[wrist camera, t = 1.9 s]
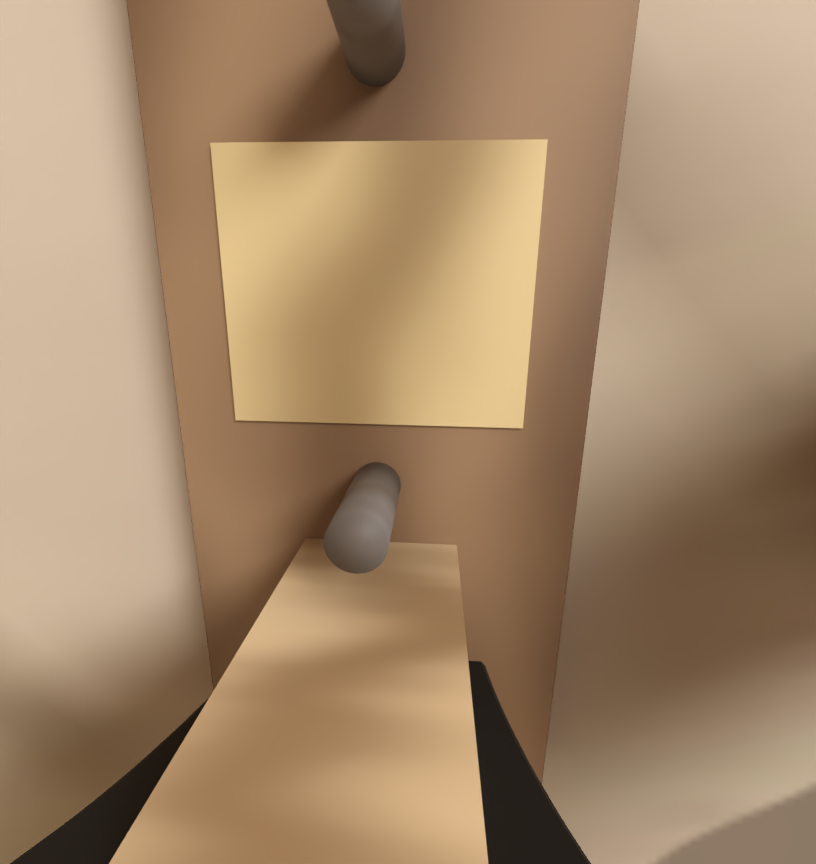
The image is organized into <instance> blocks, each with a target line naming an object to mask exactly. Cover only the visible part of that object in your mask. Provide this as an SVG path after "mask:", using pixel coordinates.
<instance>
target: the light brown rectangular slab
mask: <svg viewBox="0 0 816 864" xmlns="http://www.w3.org/2000/svg"><path fill="white" fill-rule="evenodd" d="M109 864H488V855H487V845H486V834H485V824H484V814H483V804H482V794H481V784H480V774H479V764H478V754H477V744H476V734H475V724H474V714H473V703H472V693H471V683H470V673H469V663H468V653H467V643H466V633H465V623H464V613H463V603H462V593H461V583H460V572H459V562H458V552H457V545H445V544H423V543H400V542H389V546H388V551H387V555H386V557H385V559H384V561H383V562H382V564H381V565H380V566H378V567H377V568H376V569H374V570H372V571H370V572H367V573H361V574H355V573H349V572H346V571H343V570H341V569H339V568H338V567H336V566H335V565H334V564H333V563H332V562H331V561H330V560H329V558H328V557H327V555H326V553H325V550H324V539H310V538H306V539H305V541H304V542H303V544H302V546H301V547H300V549H299V550H298V552H297V554H296V555H295V557H294V559H293V560H292V562H291V564H290V565H289V567H288V569H287V570H286V572H285V574H284V575H283V577H282V579H281V580H280V582H279V584H278V585H277V587H276V588H275V590H274V592H273V593H272V595H271V597H270V598H269V600H268V602H267V603H266V605H265V607H264V608H263V610H262V612H261V613H260V615H259V617H258V618H257V620H256V622H255V623H254V625H253V626H252V628H251V630H250V631H249V633H248V635H247V636H246V638H245V640H244V641H243V643H242V645H241V646H240V648H239V650H238V651H237V653H236V655H235V656H234V658H233V660H232V661H231V663H230V664H229V666H228V668H227V669H226V671H225V673H224V674H223V676H222V678H221V679H220V681H219V683H218V684H217V686H216V688H215V689H214V691H213V693H212V694H211V696H210V698H209V699H208V701H207V702H206V704H205V706H204V707H203V709H202V711H201V712H200V714H199V716H198V717H197V719H196V721H195V722H194V724H193V726H192V727H191V729H190V731H189V732H188V734H187V736H186V737H185V739H184V740H183V742H182V744H181V745H180V747H179V749H178V750H177V752H176V754H175V755H174V757H173V759H172V760H171V762H170V764H169V765H168V767H167V769H166V770H165V772H164V774H163V775H162V777H161V778H160V780H159V782H158V783H157V785H156V787H155V788H154V790H153V792H152V793H151V795H150V797H149V798H148V800H147V802H146V803H145V805H144V807H143V808H142V810H141V812H140V813H139V815H138V816H137V818H136V820H135V821H134V823H133V825H132V826H131V828H130V830H129V831H128V833H127V835H126V836H125V838H124V840H123V841H122V843H121V845H120V846H119V848H118V850H117V851H116V853H115V854H114V856H113V858H112V859H111V861H110V863H109Z"/></svg>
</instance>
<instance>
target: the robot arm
mask: <svg viewBox="0 0 816 864" xmlns="http://www.w3.org/2000/svg"><path fill="white" fill-rule="evenodd" d="M468 663H469V673H470V683H471V693H472V703H473V714H474V724H475V734H476V744H477V754H478V764H479V774H480V784H481V794H482V804H483V814H484V824H485V834H486V845H487V855H488V864H591V863H590V862H589V860H588V859H587V857H586V856H585V854H584V853H583V851H582V849H581V848H580V846H579V845H578V843H577V842H576V840H575V839H574V837H573V836H572V834H571V833H570V831H569V829H568V828H567V826H566V825H565V823H564V821H563V820H562V818H561V816H560V815H559V813H558V812H557V810H556V808H555V807H554V805H553V803H552V802H551V800H550V798H549V796H548V795H547V793H546V791H545V789H544V788H543V786H542V784H541V783H540V781H539V779H538V777H537V776H536V774H535V772H534V770H533V768H532V766H531V765H530V763H529V761H528V759H527V757H526V755H525V753H524V751H523V749H522V747H521V746H520V744H519V742H518V740H517V738H516V736H515V734H514V732H513V730H512V728H511V726H510V724H509V722H508V720H507V718H506V715H505V713H504V711H503V709H502V707H501V704H500V702H499V700H498V698H497V695H496V693H495V690H494V688H493V685H492V683H491V680H490V678H489V675H488V672H487V669H486V666H485V665H484V664H483V663H482V662H481V661H468ZM209 698H210V697H209ZM209 698H208V699H209ZM208 699H207V700H206V701H205V702H204V703H203V704H202V705H201V706H200V707H199V708H198V709H197V710H196V711H195V712H194V713H193V714H192V715H191V716H190V717H189V718H188V719H187V720H186V721H185V722H184V723H182V724H181V725H180V726H179V727H178V728H177V729H176V730H175V731H174V732H173V733H172V734H171V735H170V736H168V737H167V738H166V739H165V740H164V741H163V742H162V743H161V744H160V745H159V746H157V747H156V748H155V749H154V750H153V751H152V752H151V753H150V754H149V755H147V756H146V757H145V758H144V759H143V760H142V761H141V762H140V763H139V764H137V765H136V766H135V767H134V768H133V769H132V770H130V771H129V772H128V773H127V774H126V775H125V776H123V777H122V778H121V779H120V780H119V781H118V782H116V783H115V784H114V785H113V786H112V787H110V788H109V789H108V790H107V791H106V792H104V793H103V794H102V795H101V796H99V797H98V798H97V799H96V800H94V801H93V802H92V803H91V804H89V805H88V806H87V807H86V808H84V809H83V810H82V811H81V812H79V813H78V814H77V815H76V816H74V817H73V818H72V819H70V820H69V821H68V822H66V823H65V824H64V825H62V826H61V827H60V828H58V829H57V830H56V831H54V832H53V833H52V834H50V835H49V836H47V837H46V838H45V839H43V840H42V841H41V842H39V843H38V844H36V845H35V846H34V847H32V848H31V849H30V850H28V851H27V852H26V853H24V854H23V855H21V856H20V857H19V858H17V859H16V860H15V861H13V862H12V863H11V864H109V863H110V861H111V859H112V858H113V856H114V854H115V853H116V851H117V850H118V848H119V846H120V845H121V843H122V841H123V840H124V838H125V836H126V835H127V833H128V831H129V830H130V828H131V826H132V825H133V823H134V821H135V820H136V818H137V816H138V815H139V813H140V812H141V810H142V808H143V807H144V805H145V803H146V802H147V800H148V798H149V797H150V795H151V793H152V792H153V790H154V788H155V787H156V785H157V783H158V782H159V780H160V778H161V777H162V775H163V774H164V772H165V770H166V769H167V767H168V765H169V764H170V762H171V760H172V759H173V757H174V755H175V754H176V752H177V750H178V749H179V747H180V745H181V744H182V742H183V740H184V739H185V737H186V736H187V734H188V732H189V731H190V729H191V727H192V726H193V724H194V722H195V721H196V719H197V717H198V716H199V714H200V712H201V711H202V709H203V707H204V706H205V704H206V702H207V701H208Z"/></svg>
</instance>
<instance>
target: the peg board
mask: <svg viewBox="0 0 816 864" xmlns="http://www.w3.org/2000/svg"><path fill="white" fill-rule="evenodd" d="M639 2H640V0H127V8H128V16H129V23H130V31H131V39H132V47H133V55H134V63H135V71H136V79H137V87H138V95H139V103H140V111H141V119H142V127H143V135H144V143H145V150H146V158H147V166H148V174H149V182H150V190H151V198H152V206H153V214H154V222H155V230H156V238H157V246H158V254H159V262H160V270H161V277H162V285H163V293H164V301H165V309H166V317H167V325H168V333H169V341H170V349H171V357H172V365H173V373H174V381H175V389H176V397H177V404H178V412H179V420H180V428H181V436H182V444H183V452H184V460H185V468H186V476H187V484H188V492H189V500H190V508H191V516H192V524H193V531H194V539H195V547H196V555H197V563H198V571H199V579H200V587H201V595H202V603H203V611H204V619H205V627H206V635H207V643H208V651H209V658H210V666H211V674H212V682H213V690H214V689H215V688H216V686H217V684H218V683H219V681H220V679H221V678H222V676H223V674H224V673H225V671H226V669H227V668H228V666H229V664H230V663H231V661H232V660H233V658H234V656H235V655H236V653H237V651H238V650H239V648H240V646H241V645H242V643H243V641H244V640H245V638H246V636H247V635H248V633H249V631H250V630H251V628H252V626H253V625H254V623H255V622H256V620H257V618H258V617H259V615H260V613H261V612H262V610H263V608H264V607H265V605H266V603H267V602H268V600H269V598H270V597H271V595H272V593H273V592H274V590H275V588H276V587H277V585H278V584H279V582H280V580H281V579H282V577H283V575H284V574H285V572H286V570H287V569H288V567H289V565H290V564H291V562H292V560H293V559H294V557H295V555H296V554H297V552H298V550H299V549H300V547H301V546H302V544H303V542H304V541H305V539H306V538H310V539H324V550H325V553H326V555H327V557H328V558H329V560H330V561H331V562H332V563H333V564H334V565H335V566H336V567H338V568H339V569H341V570H343V571H346V572H349V573H355V574H361V573H367V572H370V571H372V570H374V569H376V568H377V567H378V566H380V565H381V564H382V562H383V561H384V559H385V557H386V555H387V551H388V546H389V542H400V543H423V544H445V545H457V552H458V562H459V572H460V583H461V593H462V603H463V613H464V623H465V633H466V643H467V653H468V661H481V662H482V663H483V664H484V665H485V666H486V669H487V672H488V675H489V678H490V680H491V683H492V685H493V688H494V690H495V693H496V695H497V698H498V700H499V702H500V704H501V707H502V709H503V711H504V713H505V715H506V718H507V720H508V722H509V724H510V726H511V728H512V730H513V732H514V734H515V736H516V738H517V740H518V742H519V744H520V746H521V747H522V749H523V751H524V753H525V755H526V757H527V759H528V761H529V763H530V765H531V766H532V768H533V770H534V772H535V774H536V776H537V777H538V779H539V781H540V783H541V784H542V777H543V769H544V761H545V753H546V745H547V737H548V729H549V721H550V713H551V705H552V697H553V689H554V681H555V673H556V665H557V657H558V649H559V641H560V633H561V625H562V617H563V609H564V601H565V593H566V585H567V577H568V569H569V561H570V553H571V545H572V537H573V529H574V521H575V513H576V505H577V497H578V489H579V481H580V473H581V465H582V457H583V449H584V441H585V433H586V425H587V417H588V409H589V401H590V393H591V385H592V377H593V369H594V361H595V353H596V345H597V337H598V329H599V321H600V313H601V305H602V297H603V289H604V281H605V273H606V265H607V257H608V249H609V241H610V233H611V225H612V217H613V209H614V202H615V194H616V186H617V178H618V170H619V162H620V154H621V146H622V138H623V130H624V122H625V114H626V106H627V98H628V90H629V82H630V74H631V66H632V58H633V50H634V42H635V34H636V26H637V18H638V10H639Z"/></svg>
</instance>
